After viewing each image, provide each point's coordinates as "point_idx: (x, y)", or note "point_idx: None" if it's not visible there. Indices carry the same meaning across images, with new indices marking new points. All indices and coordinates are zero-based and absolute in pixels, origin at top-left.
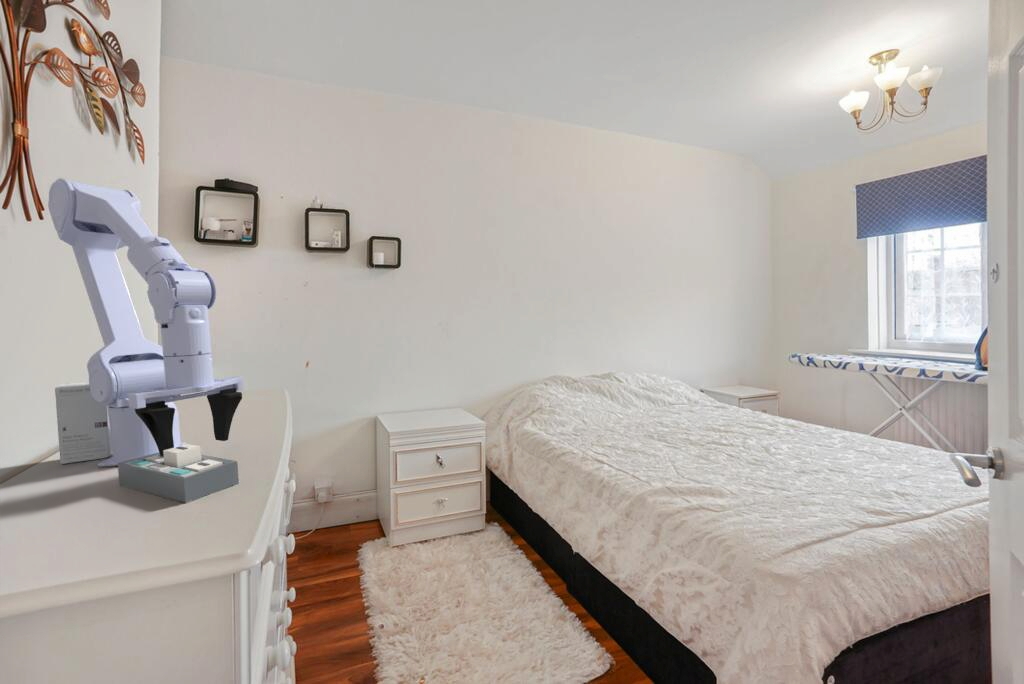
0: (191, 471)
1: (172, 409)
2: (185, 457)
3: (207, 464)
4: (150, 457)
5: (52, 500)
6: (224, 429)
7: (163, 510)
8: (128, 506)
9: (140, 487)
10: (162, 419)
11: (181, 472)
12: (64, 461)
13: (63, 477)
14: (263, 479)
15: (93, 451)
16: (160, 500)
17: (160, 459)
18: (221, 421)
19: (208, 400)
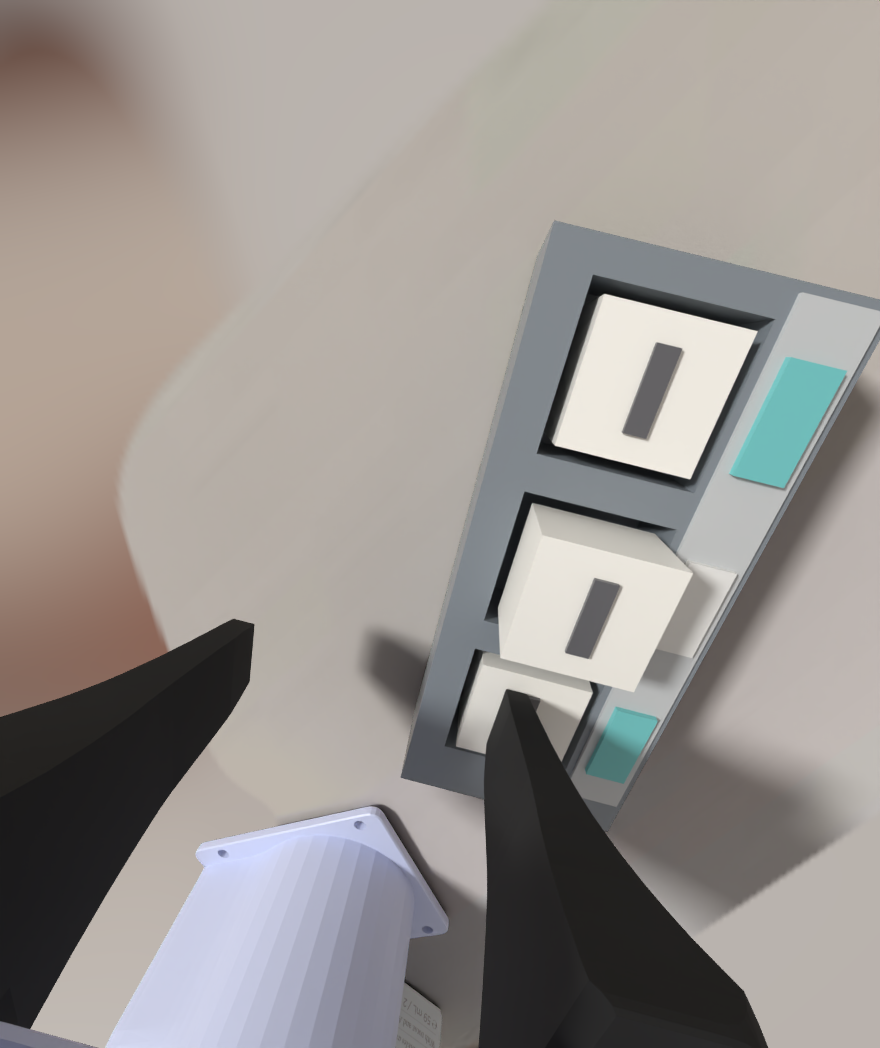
0: (773, 363)
1: (618, 992)
2: (629, 541)
3: (671, 347)
4: None
5: (718, 829)
6: (214, 657)
7: (871, 356)
8: (801, 551)
9: None
10: (652, 920)
11: (816, 394)
12: (436, 1015)
13: None
14: (466, 151)
15: None
16: None
17: (568, 699)
18: (175, 719)
19: (54, 979)
